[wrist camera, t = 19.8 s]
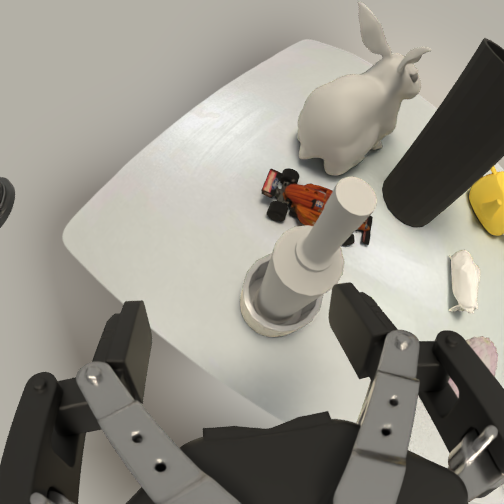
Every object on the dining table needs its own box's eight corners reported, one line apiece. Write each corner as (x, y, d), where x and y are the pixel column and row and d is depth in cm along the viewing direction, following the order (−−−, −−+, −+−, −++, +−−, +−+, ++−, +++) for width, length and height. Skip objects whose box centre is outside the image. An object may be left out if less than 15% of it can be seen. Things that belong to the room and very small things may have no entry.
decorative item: (506, 357, 31) (518, 369, 23) (458, 408, 34) (459, 431, 26) (472, 321, 36) (478, 325, 28) (426, 373, 39) (420, 389, 31)
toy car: (365, 256, 40) (378, 244, 36) (253, 214, 41) (256, 197, 37) (373, 210, 43) (385, 196, 39) (271, 171, 44) (275, 153, 39)
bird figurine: (464, 313, 39) (469, 253, 41) (486, 314, 33) (490, 247, 34) (441, 311, 40) (446, 249, 41) (462, 312, 33) (466, 242, 35)
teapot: (465, 227, 44) (499, 202, 35) (461, 172, 49) (488, 145, 39) (508, 252, 43) (540, 232, 34) (502, 199, 48) (529, 177, 39)
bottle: (301, 294, 37) (411, 180, 13) (285, 332, 35) (394, 269, 12) (263, 277, 37) (320, 135, 14) (245, 314, 35) (282, 216, 12)
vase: (440, 210, 44) (552, 100, 16) (411, 238, 42) (548, 113, 14) (404, 165, 47) (493, 39, 19) (370, 188, 44) (472, 36, 16)
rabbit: (401, 151, 48) (468, 51, 25) (320, 192, 43) (388, 51, 20) (361, 109, 51) (408, 6, 28) (276, 139, 46) (307, -1, 23)
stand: (244, 340, 35) (247, 335, 28) (236, 274, 38) (239, 255, 31) (310, 332, 36) (328, 325, 29) (300, 269, 38) (315, 249, 32)
